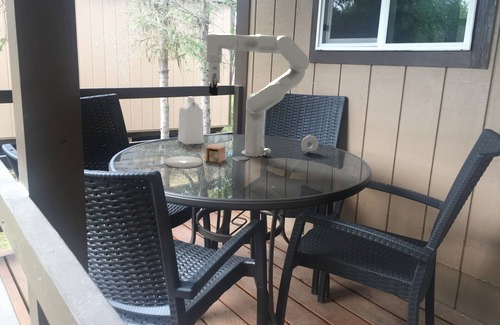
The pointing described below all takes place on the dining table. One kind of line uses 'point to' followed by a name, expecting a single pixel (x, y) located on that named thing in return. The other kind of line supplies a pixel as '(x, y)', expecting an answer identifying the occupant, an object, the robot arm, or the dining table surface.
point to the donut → (305, 142)
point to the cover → (220, 152)
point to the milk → (191, 123)
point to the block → (213, 155)
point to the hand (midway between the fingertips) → (213, 94)
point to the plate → (183, 162)
